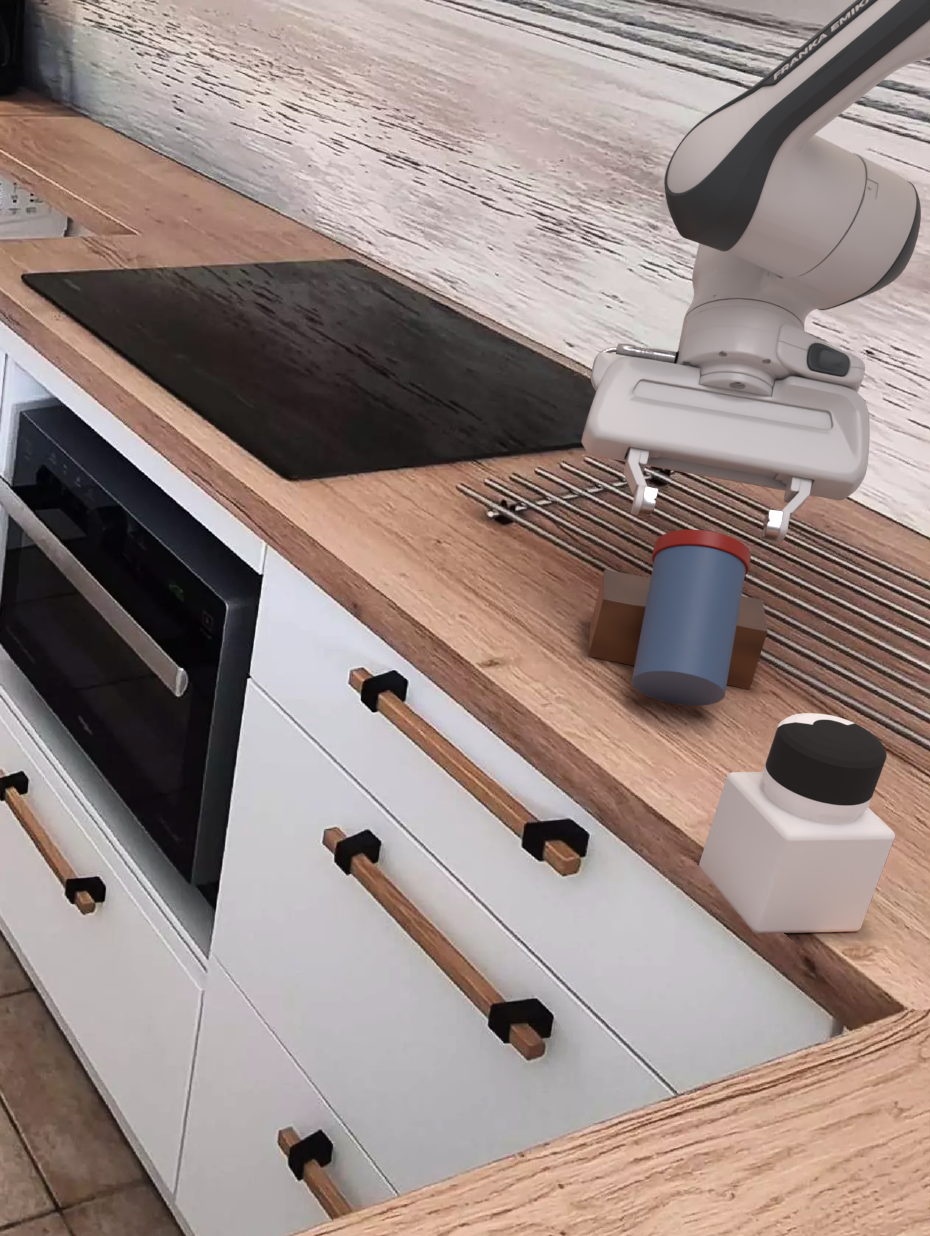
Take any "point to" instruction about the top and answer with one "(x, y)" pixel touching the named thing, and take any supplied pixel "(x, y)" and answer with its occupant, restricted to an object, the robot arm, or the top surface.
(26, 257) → the top surface
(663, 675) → the container
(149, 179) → the top surface
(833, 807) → the medicine bottle
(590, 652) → the block
